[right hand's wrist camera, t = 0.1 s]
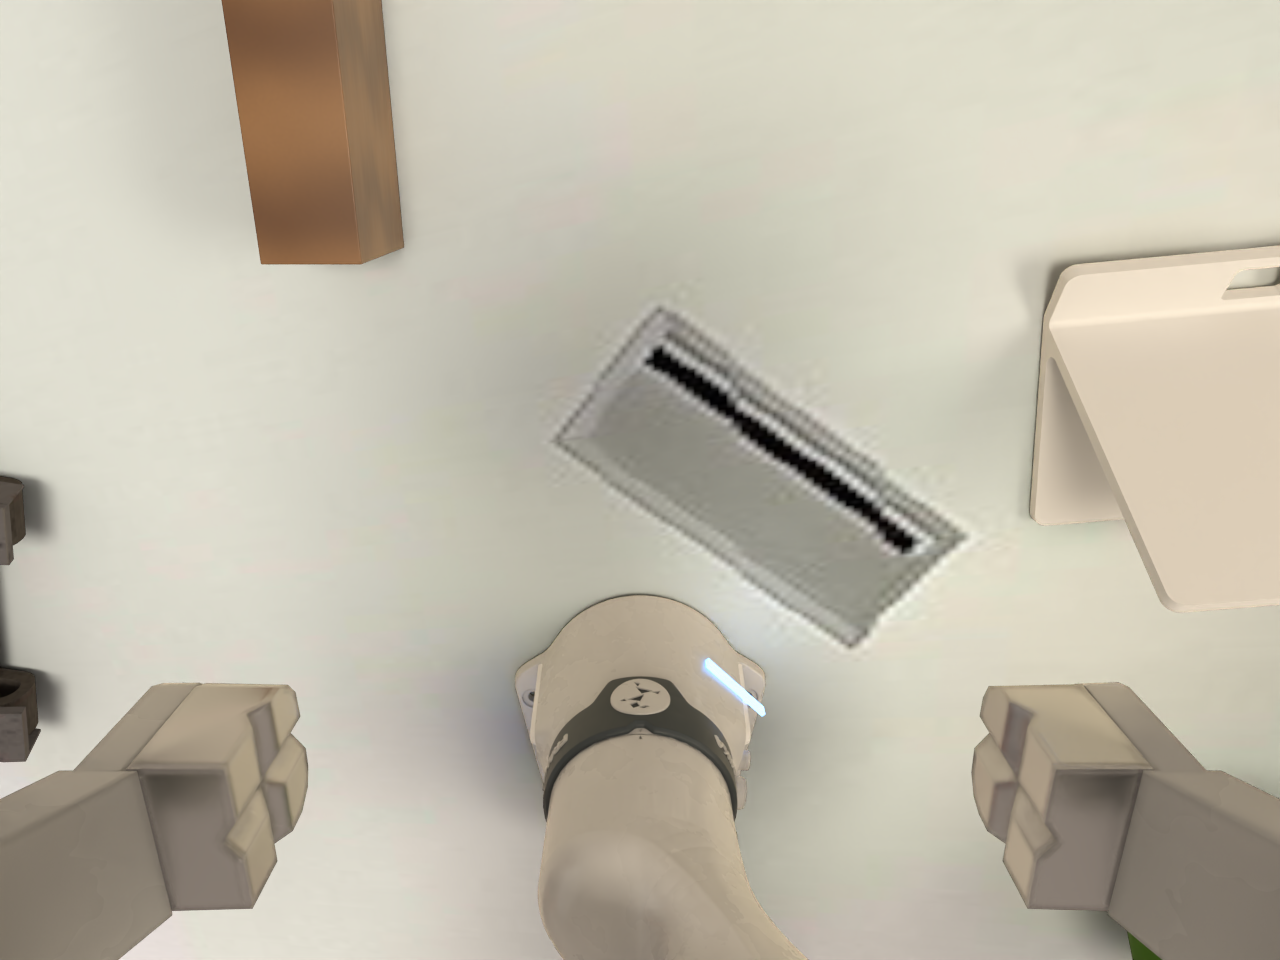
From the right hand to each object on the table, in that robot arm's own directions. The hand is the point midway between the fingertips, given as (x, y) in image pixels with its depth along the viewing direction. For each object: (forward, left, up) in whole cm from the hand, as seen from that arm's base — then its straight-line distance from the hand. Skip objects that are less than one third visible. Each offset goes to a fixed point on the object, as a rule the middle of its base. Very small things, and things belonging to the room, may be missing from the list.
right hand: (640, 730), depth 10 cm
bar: (+12, +18, -48) cm, 52 cm away
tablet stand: (-8, -39, -48) cm, 62 cm away
